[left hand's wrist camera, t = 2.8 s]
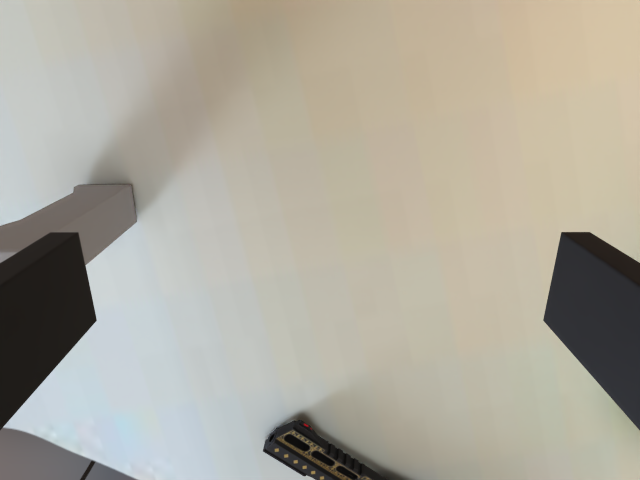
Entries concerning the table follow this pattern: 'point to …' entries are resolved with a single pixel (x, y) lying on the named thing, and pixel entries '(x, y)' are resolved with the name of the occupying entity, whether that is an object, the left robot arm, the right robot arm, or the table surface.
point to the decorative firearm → (314, 455)
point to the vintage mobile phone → (76, 220)
